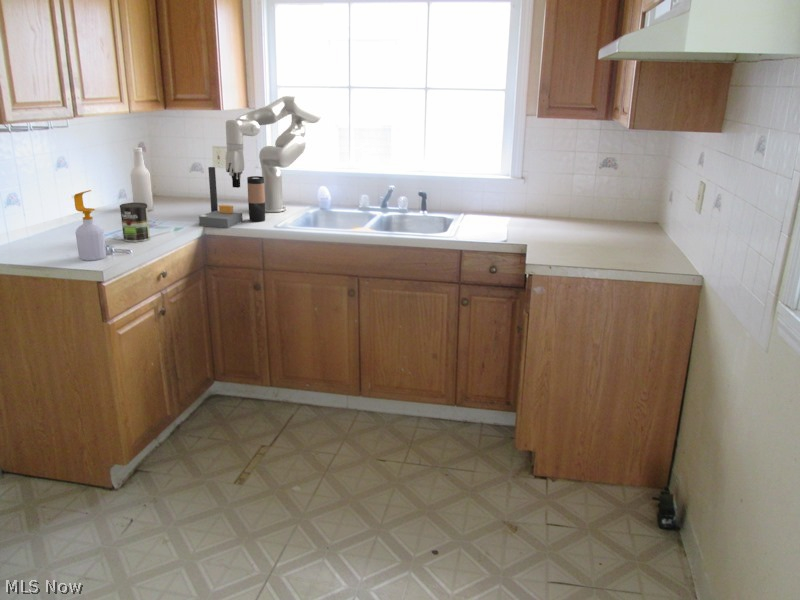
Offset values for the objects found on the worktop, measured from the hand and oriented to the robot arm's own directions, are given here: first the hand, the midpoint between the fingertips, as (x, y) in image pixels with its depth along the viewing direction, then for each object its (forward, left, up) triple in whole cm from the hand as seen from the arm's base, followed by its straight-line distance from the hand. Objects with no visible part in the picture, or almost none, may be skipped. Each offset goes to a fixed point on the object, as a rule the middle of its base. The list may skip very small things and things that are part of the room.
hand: (236, 187), depth 303 cm
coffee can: (+54, -17, -14) cm, 59 cm away
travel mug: (+4, +12, -14) cm, 19 cm away
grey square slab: (+16, 0, -14) cm, 22 cm away
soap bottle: (+83, -15, -14) cm, 86 cm away
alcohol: (+3, -49, -14) cm, 51 cm away
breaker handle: (+11, 0, -10) cm, 15 cm away
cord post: (+4, -10, -14) cm, 18 cm away
